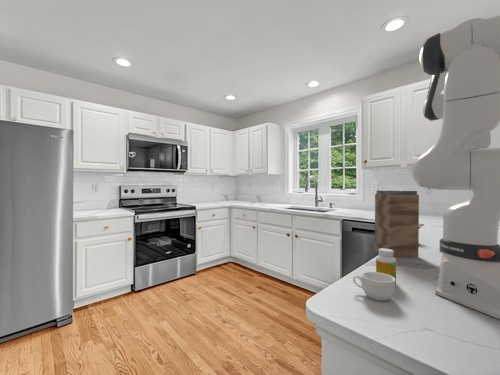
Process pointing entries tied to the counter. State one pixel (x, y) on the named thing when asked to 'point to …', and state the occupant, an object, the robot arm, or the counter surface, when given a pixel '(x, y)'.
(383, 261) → the supplement bottle
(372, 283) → the teacup
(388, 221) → the socket tower
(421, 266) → the counter surface
